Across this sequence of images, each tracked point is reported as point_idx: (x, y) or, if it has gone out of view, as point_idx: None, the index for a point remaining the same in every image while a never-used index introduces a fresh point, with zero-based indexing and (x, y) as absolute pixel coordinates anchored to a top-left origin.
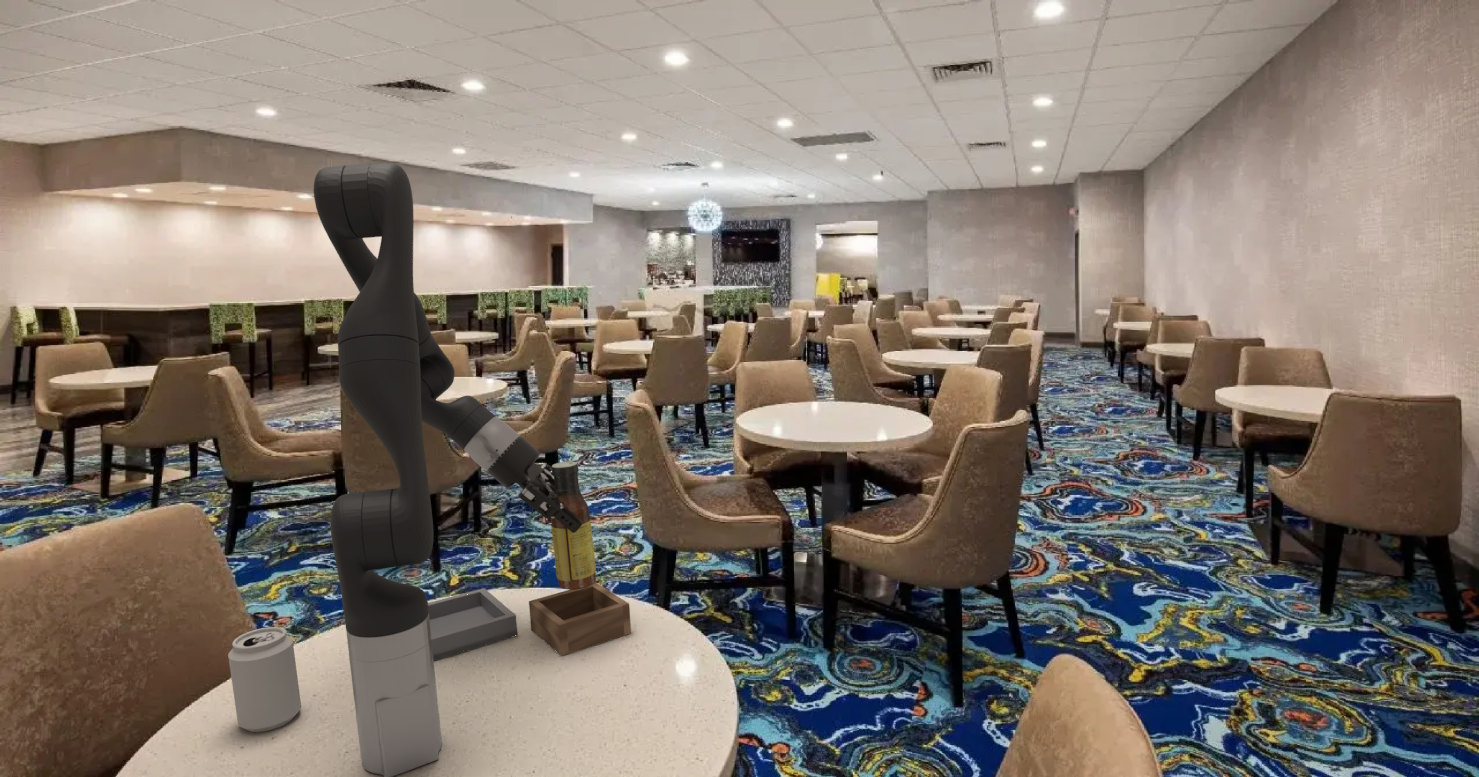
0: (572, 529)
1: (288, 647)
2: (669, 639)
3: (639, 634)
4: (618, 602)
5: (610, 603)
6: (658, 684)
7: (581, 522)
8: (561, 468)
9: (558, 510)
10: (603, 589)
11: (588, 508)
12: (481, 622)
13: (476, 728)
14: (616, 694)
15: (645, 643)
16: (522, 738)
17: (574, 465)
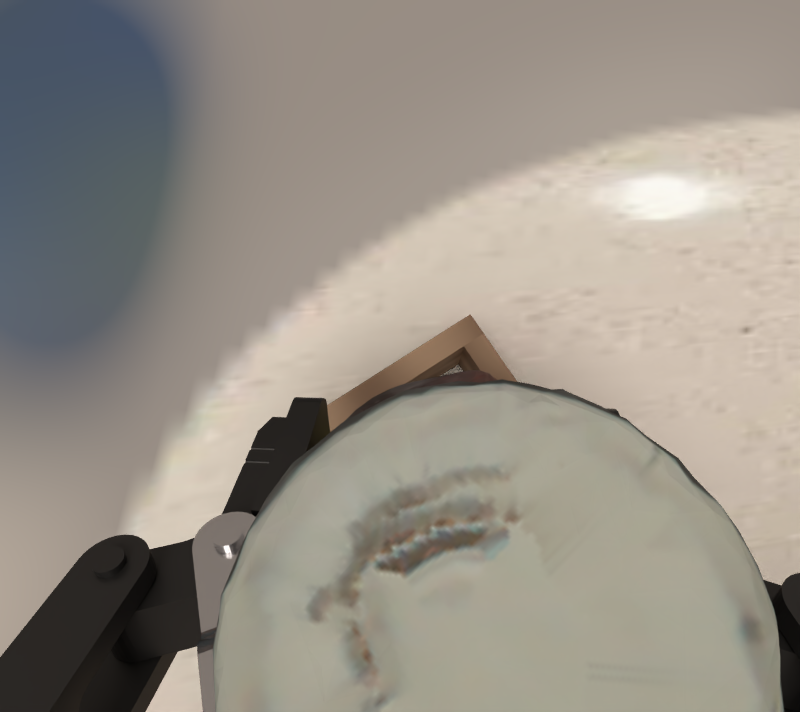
0: None
1: None
2: (511, 239)
3: (472, 315)
4: (455, 348)
5: (413, 381)
6: (744, 254)
7: (616, 410)
8: (772, 696)
9: (764, 582)
10: (339, 407)
11: (297, 401)
12: None
13: None
14: (791, 346)
15: (527, 296)
16: None
17: (620, 419)
